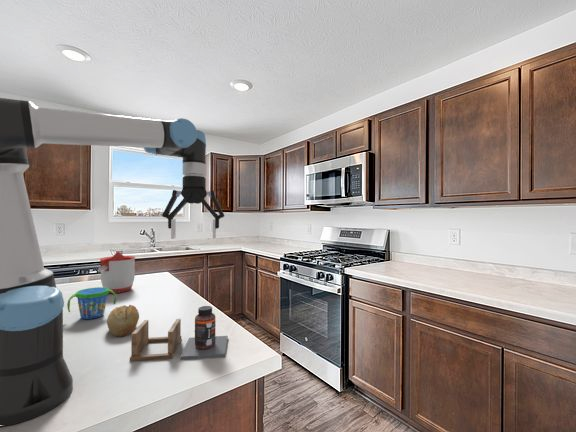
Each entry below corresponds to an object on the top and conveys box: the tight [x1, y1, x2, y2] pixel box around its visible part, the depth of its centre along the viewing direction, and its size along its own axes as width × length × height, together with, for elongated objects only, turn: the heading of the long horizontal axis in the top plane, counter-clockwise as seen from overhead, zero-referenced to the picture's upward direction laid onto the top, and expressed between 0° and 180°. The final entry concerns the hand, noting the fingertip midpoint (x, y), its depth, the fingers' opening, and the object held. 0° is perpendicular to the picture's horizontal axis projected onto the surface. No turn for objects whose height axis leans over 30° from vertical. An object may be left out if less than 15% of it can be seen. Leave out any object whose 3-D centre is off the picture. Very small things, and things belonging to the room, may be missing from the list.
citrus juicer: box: [97, 251, 136, 295], centre depth 146 cm, size 16×17×20 cm
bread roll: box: [106, 304, 140, 337], centre depth 99 cm, size 10×15×8 cm, turn 33°
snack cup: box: [66, 286, 117, 320], centre depth 111 cm, size 16×10×10 cm
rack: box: [129, 318, 182, 362], centre depth 85 cm, size 12×11×7 cm
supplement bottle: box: [194, 305, 216, 349], centre depth 86 cm, size 6×6×11 cm
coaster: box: [179, 335, 228, 360], centre depth 86 cm, size 12×12×1 cm
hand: (194, 238), depth 98 cm, fingers open, 13 cm apart
